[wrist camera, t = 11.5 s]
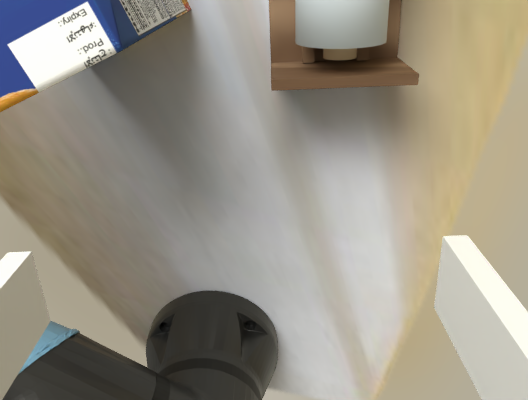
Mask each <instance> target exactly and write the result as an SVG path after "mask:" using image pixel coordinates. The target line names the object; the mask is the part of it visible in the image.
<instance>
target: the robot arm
mask: <svg viewBox="0 0 528 400" xmlns="http://www.w3.org/2000/svg"><path fill="white" fill-rule="evenodd" d="M434 308H435V310H436V312H437V314H438V316H439V318H440V320H441V322H442V324H443V326H444V327H445V330H446V331H447V333H448V335H449V337H450V339H451V341H452V343H453V345H454V347H455V349H456V351H457V353H458V355H459V357H460V358H461V361H462V362H463V364H464V366H465V368H466V370H467V372H468V374H469V376H470V378H471V380H472V382H473V384H474V386H475V387H476V390H477V392H478V394H479V395H480V397H481V399H482V400H528V312H527V311H526V309H525V308H524V307H523V306H522V304H521V303H520V302H519V300H518V299H517V298H516V297H515V295H514V294H513V293H512V292H511V290H510V289H509V288H508V286H507V285H506V284H505V283H504V281H503V280H502V279H501V278H500V276H499V275H498V274H497V272H496V271H495V270H494V269H493V267H492V266H491V265H490V263H489V262H488V261H487V260H486V258H485V257H484V256H483V255H482V253H481V252H480V251H479V250H478V248H477V247H476V246H475V244H474V243H473V242H472V241H471V239H470V238H469V237H468V236H467V235H461V236H443V240H442V248H441V256H440V264H439V272H438V281H437V289H436V297H435V305H434ZM146 357H147V366H148V368H147V367H145V366H143V365H141V364H139V363H137V362H135V361H133V360H131V359H129V358H127V357H125V356H123V355H121V354H119V353H117V352H115V351H113V350H111V349H109V348H107V347H105V346H103V345H101V344H99V343H97V342H95V341H93V340H91V339H89V338H87V337H86V336H84V335H82V334H80V332H79V331H78V330H76V329H69V328H66V327H64V326H62V325H60V324H57V323H55V322H52V321H50V317H49V313H48V310H47V306H46V303H45V299H44V295H43V291H42V288H41V284H40V280H39V277H38V274H37V269H36V266H35V263H34V259H33V255H32V252H9V253H7V254H6V255H5V256H4V257H3V259H2V260H1V261H0V400H262V398H263V396H264V394H265V391H266V389H267V387H268V385H269V382H270V380H271V378H272V375H273V373H274V371H275V368H276V364H277V358H278V341H277V334H276V331H275V328H274V326H273V324H272V322H271V320H270V319H269V318H268V316H267V315H266V314H265V313H264V312H263V311H262V310H261V309H260V308H259V307H258V306H256V305H255V304H253V303H252V302H250V301H248V300H247V299H244V298H242V297H240V296H237V295H234V294H230V293H226V292H220V291H200V292H194V293H190V294H187V295H184V296H181V297H179V298H177V299H175V300H173V301H171V302H170V303H168V304H167V305H166V306H165V307H164V308H163V309H162V310H161V311H160V312H159V313H158V314H157V316H156V317H155V319H154V321H153V323H152V326H151V329H150V332H149V335H148V339H147V344H146Z"/></svg>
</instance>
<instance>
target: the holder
mask: <svg viewBox="0 0 528 400" xmlns="http://www.w3.org/2000/svg"><path fill="white" fill-rule="evenodd" d="M400 13H401V0H389V13H388V27H387V41H386V43H384V44H382V45H378V46H373V47H365V48H357V57H356V58H355V59H351V60H327V59H324V58H323V49H322V48H310V47H304V46H300V45H297V44H296V43H295V0H269V15H270V43H271V88H272V90H297V89H322V88H347V87H372V86H397V85H418V78H419V74H418V73H417V72H416V71H414V70H413V69H412V68H410V67H409V66H408V65H406V64H405V63H404V62H403V61H401V60H400V59H399V58H397V55H398V41H399V27H400Z"/></svg>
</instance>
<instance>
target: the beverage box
mask: <svg viewBox="0 0 528 400" xmlns="http://www.w3.org/2000/svg"><path fill="white" fill-rule="evenodd" d="M190 10H191V8H190V6H189V4H188V2H187V0H0V112H2V111H3V110H5V109H7V108H9V107H11V106H13V105H15V104H17V103H19V102H21V101H23V100H25V99H27V98H29V97H31V96H33V95H35V94H37V93H39V92H41V91H43V90H45V89H47V88H49V87H51V86H53V85H55V84H57V83H59V82H61V81H63V80H65V79H67V78H69V77H71V76H72V75H74V74H76V73H78V72H80V71H82V70H84V69H86V68H88V67H90V66H92V65H94V64H96V63H98V62H100V61H102V60H104V59H106V58H108V57H110V56H112V55H114V54H116V53H118V52H120V51H122V50H123V49H125V48H127V47H129V46H130V45H132V44H134V43H135V42H137V41H139V40H140V39H142V38H144V37H146V36H147V35H149V34H151V33H152V32H154V31H156V30H157V29H159V28H161V27H163V26H164V25H166V24H168V23H169V22H171V21H173V20H174V19H176V18H178V17H180V16H181V15H183V14H185V13H186V12H188V11H190Z"/></svg>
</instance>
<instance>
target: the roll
mask: <svg viewBox="0 0 528 400" xmlns="http://www.w3.org/2000/svg"><path fill="white" fill-rule="evenodd" d="M388 13H389V0H295V43H296V44H297V45H300V46H304V47H310V48H322V49H323V58H324V59H327V60H351V59H355V58H356V57H357V48H365V47H373V46H378V45H382V44H384V43H386V41H387V27H388Z"/></svg>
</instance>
